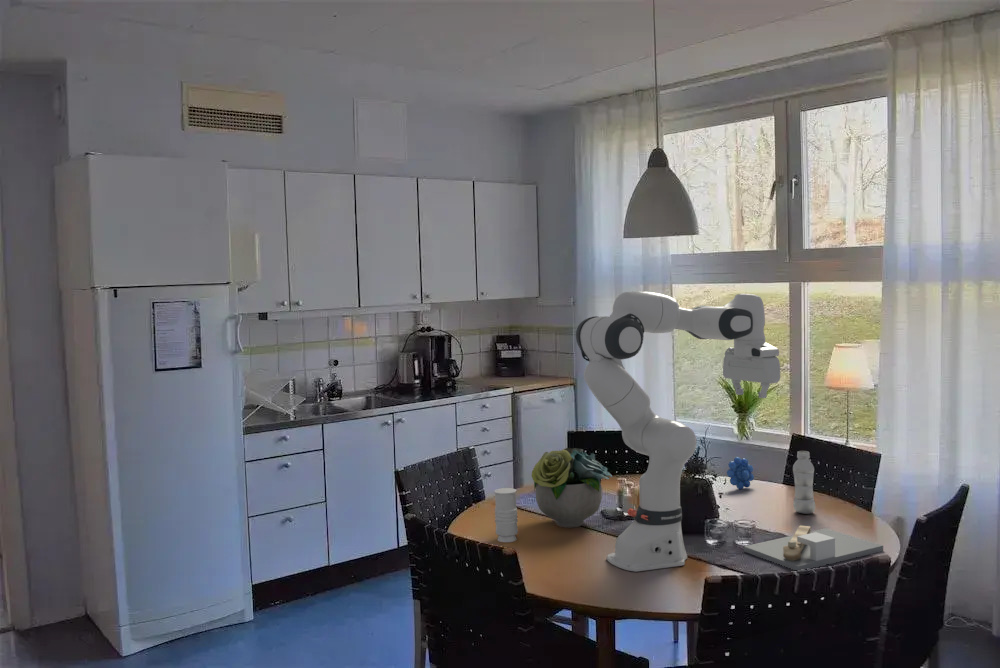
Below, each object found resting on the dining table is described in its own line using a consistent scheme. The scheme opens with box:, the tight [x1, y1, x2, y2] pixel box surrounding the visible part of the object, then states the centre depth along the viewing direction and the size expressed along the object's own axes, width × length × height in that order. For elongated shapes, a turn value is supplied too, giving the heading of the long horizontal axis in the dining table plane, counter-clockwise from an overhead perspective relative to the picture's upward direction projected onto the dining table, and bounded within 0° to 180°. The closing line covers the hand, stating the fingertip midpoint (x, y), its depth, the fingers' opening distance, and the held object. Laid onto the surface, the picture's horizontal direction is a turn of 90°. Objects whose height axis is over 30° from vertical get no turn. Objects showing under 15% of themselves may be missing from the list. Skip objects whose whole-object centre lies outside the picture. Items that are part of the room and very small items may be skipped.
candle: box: [493, 487, 519, 543], centre depth 257 cm, size 7×7×15 cm
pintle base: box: [743, 527, 884, 571], centre depth 236 cm, size 32×20×6 cm, turn 117°
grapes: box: [726, 456, 755, 490], centre depth 307 cm, size 12×7×12 cm, turn 113°
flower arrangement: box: [531, 447, 613, 529], centre depth 270 cm, size 25×25×24 cm
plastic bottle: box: [792, 450, 816, 515], centre depth 274 cm, size 6×7×20 cm
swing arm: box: [783, 525, 812, 560], centre depth 235 cm, size 24×4×2 cm, turn 152°
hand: (750, 396), depth 247 cm, fingers open, 8 cm apart
